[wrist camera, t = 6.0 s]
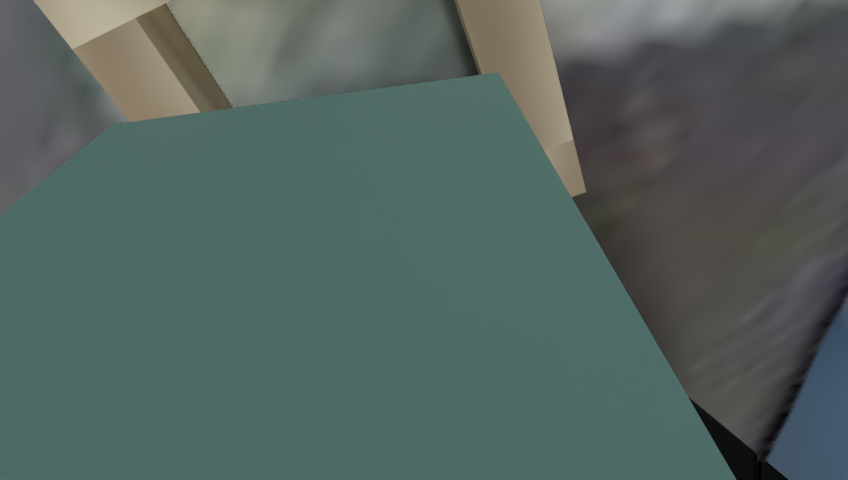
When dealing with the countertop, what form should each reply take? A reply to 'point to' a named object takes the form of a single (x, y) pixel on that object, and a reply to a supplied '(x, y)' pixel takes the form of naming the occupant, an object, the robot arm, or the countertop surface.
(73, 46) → the socket base
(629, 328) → the turquoise block
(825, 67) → the countertop surface
